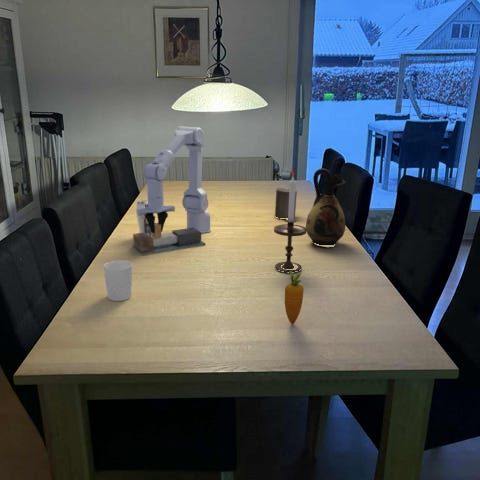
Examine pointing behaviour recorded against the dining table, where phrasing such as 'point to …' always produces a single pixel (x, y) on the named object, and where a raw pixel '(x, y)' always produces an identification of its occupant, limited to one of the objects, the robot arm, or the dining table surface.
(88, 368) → the dining table surface
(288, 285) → the carrot
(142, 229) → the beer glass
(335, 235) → the ceramic jug
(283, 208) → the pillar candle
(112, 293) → the white cup
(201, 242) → the outer sleeve
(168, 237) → the grey slider with handle
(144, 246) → the socket block
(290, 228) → the candlestick
